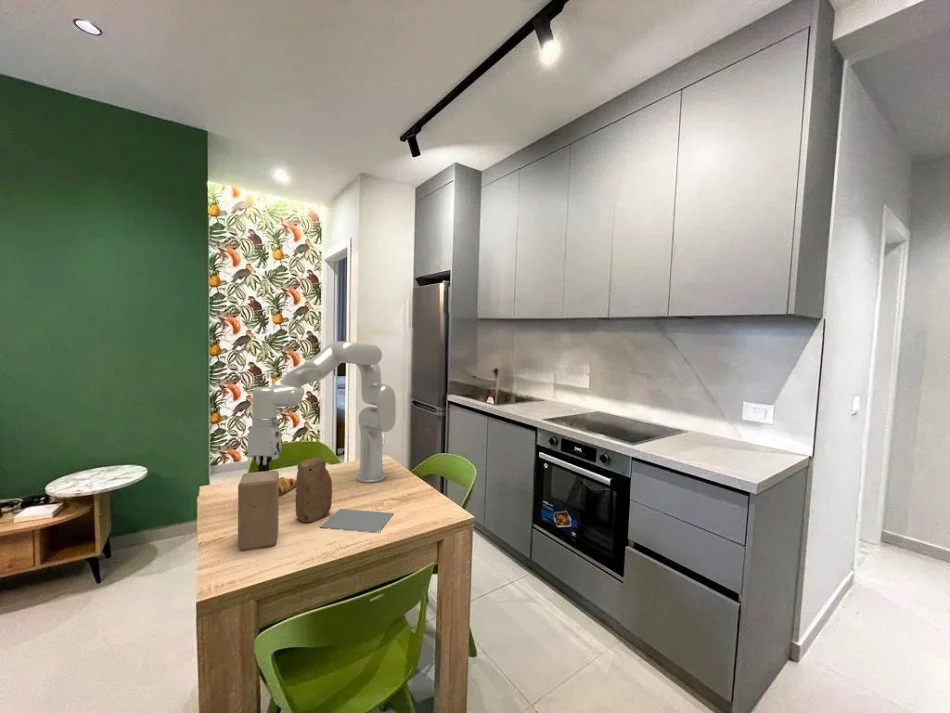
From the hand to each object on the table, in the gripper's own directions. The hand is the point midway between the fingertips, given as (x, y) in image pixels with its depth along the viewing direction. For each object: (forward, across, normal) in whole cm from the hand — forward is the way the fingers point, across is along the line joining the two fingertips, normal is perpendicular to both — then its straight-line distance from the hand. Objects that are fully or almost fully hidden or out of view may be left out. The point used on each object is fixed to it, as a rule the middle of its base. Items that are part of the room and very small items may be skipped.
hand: (263, 474), depth 137 cm
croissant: (+14, +7, -17) cm, 23 cm away
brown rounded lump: (+14, -19, 0) cm, 23 cm away
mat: (+13, -35, 0) cm, 37 cm away
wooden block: (+14, -11, +18) cm, 25 cm away
